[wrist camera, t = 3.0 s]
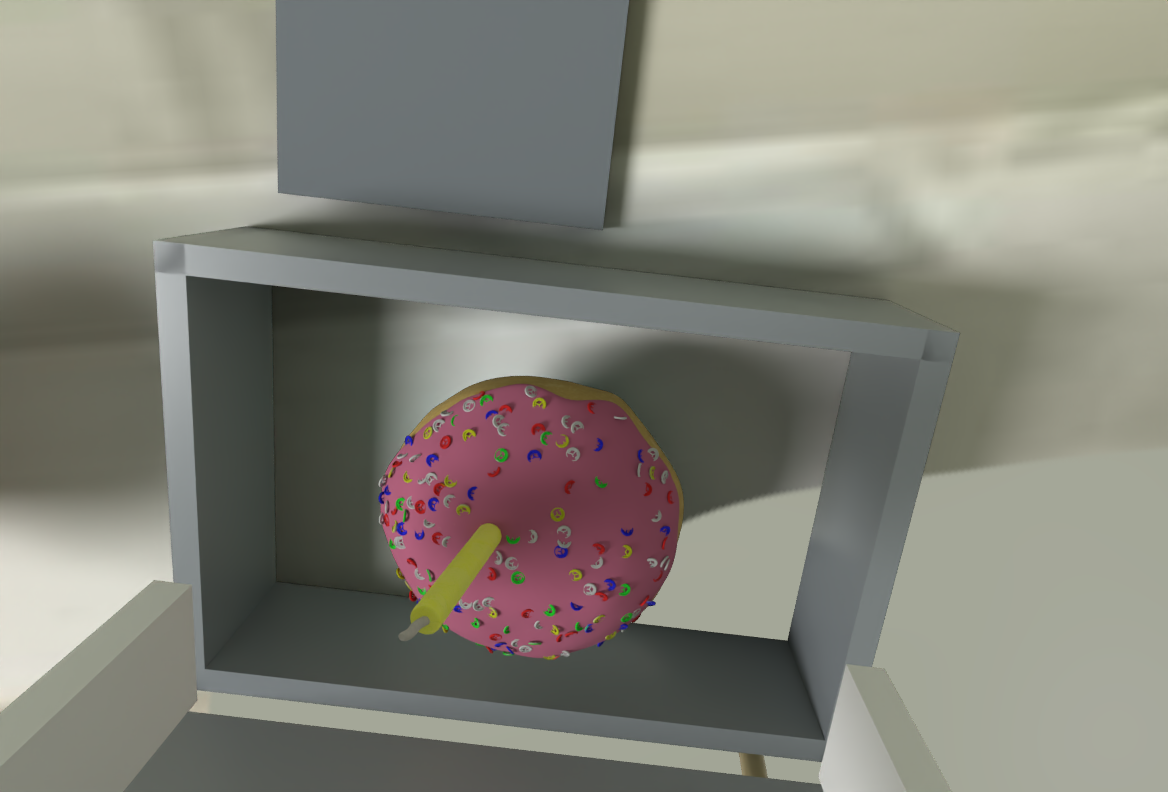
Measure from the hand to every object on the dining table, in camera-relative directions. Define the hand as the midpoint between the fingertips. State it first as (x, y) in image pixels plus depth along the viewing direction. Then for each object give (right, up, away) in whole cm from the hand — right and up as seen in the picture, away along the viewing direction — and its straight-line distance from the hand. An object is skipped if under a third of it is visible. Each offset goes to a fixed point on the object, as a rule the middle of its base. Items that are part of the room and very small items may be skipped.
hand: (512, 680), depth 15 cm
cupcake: (0, +4, +11) cm, 11 cm away
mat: (-2, +16, +7) cm, 18 cm away
